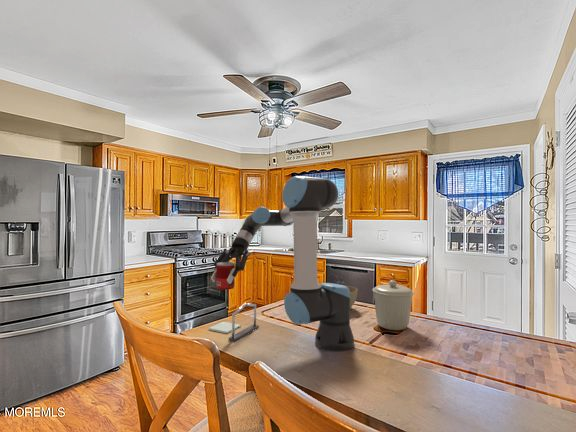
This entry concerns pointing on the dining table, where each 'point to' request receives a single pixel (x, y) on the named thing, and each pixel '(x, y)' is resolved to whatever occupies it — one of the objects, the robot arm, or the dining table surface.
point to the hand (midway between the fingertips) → (220, 281)
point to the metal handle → (245, 331)
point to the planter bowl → (352, 295)
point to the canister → (393, 305)
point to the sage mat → (223, 327)
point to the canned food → (224, 275)
